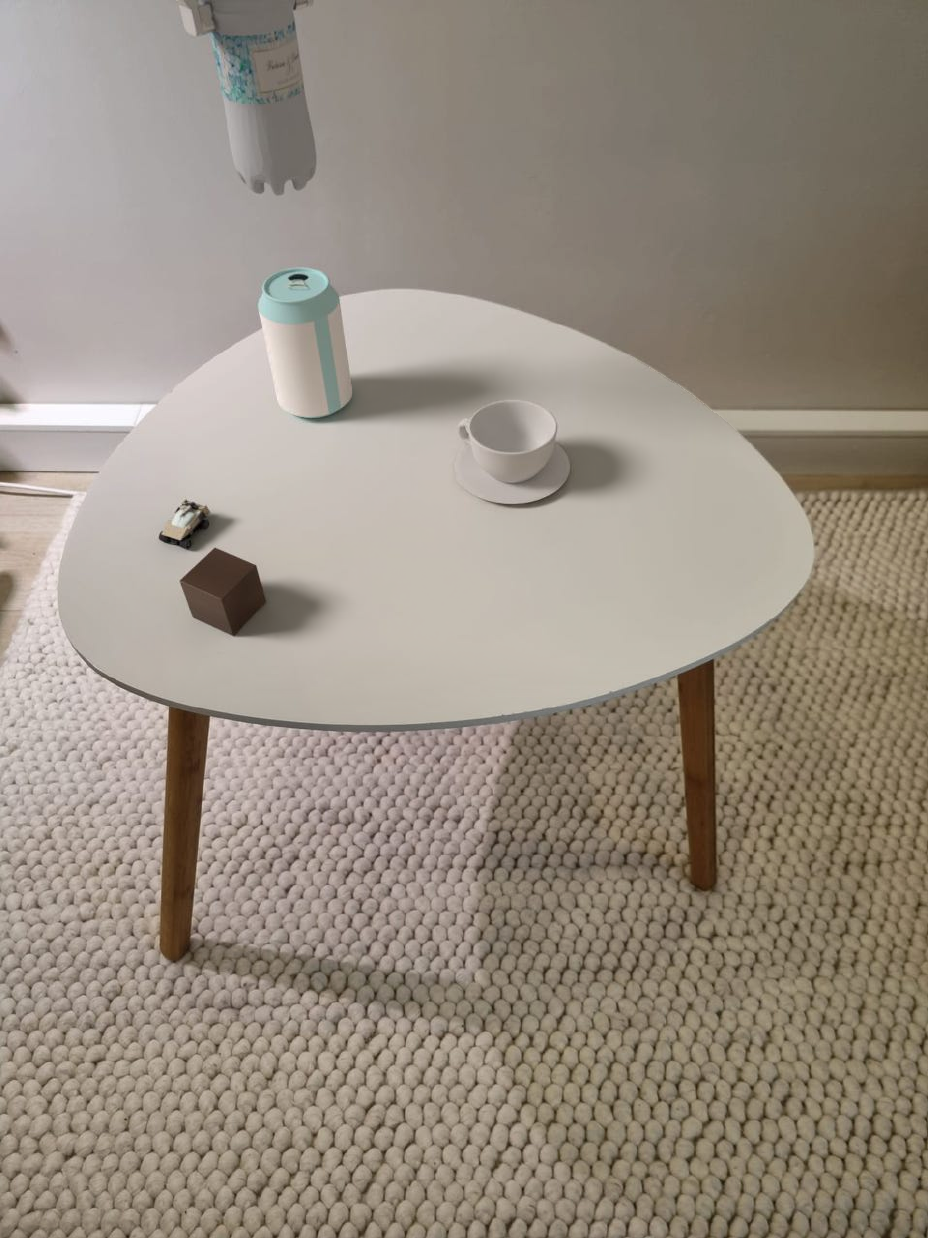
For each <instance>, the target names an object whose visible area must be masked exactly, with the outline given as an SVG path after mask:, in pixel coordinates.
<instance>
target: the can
mask: <svg viewBox="0 0 928 1238" xmlns="http://www.w3.org/2000/svg"><path fill="white" fill-rule="evenodd" d="M330 281H331V280H330V278H329V276H328V275H327V274H326V273H325V272H323V271H321V270H319V269H316V268H312V267H303V266H302V267H290V268H285V269H281V270H279V271H277V272H274V273H272V274H271V275H269V276H268V277H267V278H266V279H265V280H264V281H263V283H262V285H261V291H262V293H261V296H260V298H259V299H258V303H257V310H258V313H259V320H260V323H261V328H262V333H263V337H264V343H265V348H266V351H267V357H268V362H269V366H270V371H271V376H272V381H273V386H274V390H275V394H276V399H277V403H278V405H279V407H280V408H281V409H282V410H283V411H285V412H286V413H288V414H290V415H292V416H294V417H295V416H296V417H300V418H304V419H321V418H324V417H328V416H330V415H333V414H335V413H336V412H338V411H340V410H342V409H343V407H345V406H346V405H347V404H348V403H349V402H350V401H351V399H352V396H353V385H352V379H351V372H350V363H349V357H348V349H347V344H346V343H347V342H346V336H345V328H344V322H343V321H344V320H343V314H342V306H341V300H340V295H339V293H338V291H337V290H336V289H335V288H334V287H333V285H331V282H330Z"/></svg>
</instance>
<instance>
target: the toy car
mask: <svg viewBox="0 0 928 1238" xmlns="http://www.w3.org/2000/svg"><path fill="white" fill-rule="evenodd" d="M210 513H211V510H210V509H209V507H208V505H207V504H205V505H203V504H199V503H196V502H195V501H190V500H188V499H186V498H185V500H183V501H182V502H181V505H180V506H177V508H176V509H175V511H174V513H173V514H174V515H173V516H172V518H171V519H169V520H168V521H166V522H167V524H166V526H165V527H164V529H163V530H161V531H160V532H159V533H158V534H159V535H158V540H159V541H161V542H163V543H166V544H168V543H171V544H172V545H175V546H179V548H182V549H184V550H189V549H191V547H192V545H193V540H192V539H191V538H192V537H193V535H194V534H195V533H197V531H199V530H201V529H203V530H206V529H208V528H209V526H210V521H209V520H208V519H206V518H207V517H208V516H209V514H210Z"/></svg>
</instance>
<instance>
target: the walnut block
mask: <svg viewBox="0 0 928 1238" xmlns="http://www.w3.org/2000/svg"><path fill="white" fill-rule="evenodd" d="M179 584H180V586H181V589H182V592H183V595H184V597H185V600H186V603H187V606H188V609H189V611H190V614H191V617H192V618H193V619H196V620H198V621H200V622H202V623H204V624H206V625H209V626H211V627H213V628H215V629H217V630H219V631H221V632H223V633H225V634H228V635H230V636H232V637H234V636H235V635H236V634H237V633H238V632H239V631H240V630H241V629H242V628H243V627H244V626H245V625H246V624H247V623H248V622H249V621H250V620H251V618H253V616H254V615H256V613H257V612H258V611H259V610H260V609H261V608H262V607H263V606H264V605H265V604H266V603H267V598H266V595H265V591H264V588H263V584H262V580H261V577H260V573H259V570H258V566H257V564H256V563H255V564H254V563H252V562H250V561H248V560H245V559H243V558H241V557H239V556H236V555H234V554H231V553H229V552H226V551H225V550H222V549H219V548H218V547H213V548H212V550H210V551H209V552H208V553H207V554H206V555H204V557H203V558H202V559H201V560H200V561H199V562H198V563H197V564H195V565H194V566H193V567H192V568H191V569H190V570H189V571H188V572H187V573H186V574H185V575H183V576H182V577H181V579H180V580H179Z"/></svg>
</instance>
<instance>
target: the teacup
mask: <svg viewBox="0 0 928 1238" xmlns="http://www.w3.org/2000/svg"><path fill="white" fill-rule="evenodd" d="M467 430H468V431H467ZM557 432H558V422H557V419H556V418H555V416H554V415H553V414H552V412H550V411H549V410H548V409H547V408H546V407H544V406H542V405H540V404H538V403H535V402H532V401H528V400H524V399H523V400H522V399H504V400H498V401H494V402H491V403H488V404H486V405H484V406H482V407H480V408H479V409H477V411H475V412H474V413H473V414H472V416H471V417H465V418H463V419H462V420H460V422H459V423H458V425H457V433H458V436H459V438H460V439H461V441H463V442H464V443H465V445H464V446H462V448H461V449H460V450H459V452H458V453H457V454H456V457H455V459H454V466H453V467H454V469H453V470H454V475H455V477H456V480H457V481H458V483H459V484H460V486H462V488H464V490H466V491H467V492H469V493H470V494H472V495H473V496H475V497H477V498H479V499H481V500H485V501H488V502H490V503H498V504H504V505H505V504H506V505H518V504H519V505H520V504H527V503H532V502H535V501H538V500H541V499H544V498H546V497H548V496H550V495H552V494H553V493H556V491H558V490H559V489H560V488H561V487H562V486H563V485H564V484H565V483H566V481H567V479H568V477H569V474H570V470H571V462H570V459H569V456H568V454H567V452H566V451H565V450H564V449H563V447H562V446H561V445H559V444H558V443H557V442H556V438H557Z"/></svg>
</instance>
